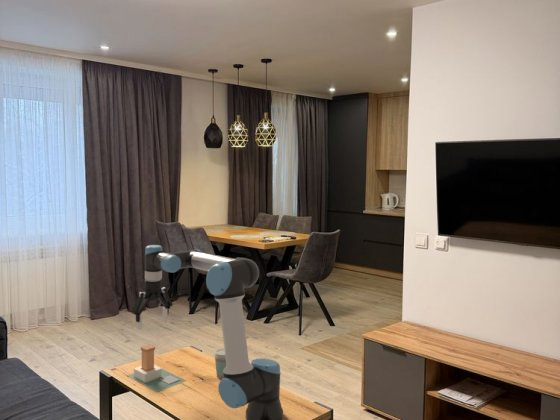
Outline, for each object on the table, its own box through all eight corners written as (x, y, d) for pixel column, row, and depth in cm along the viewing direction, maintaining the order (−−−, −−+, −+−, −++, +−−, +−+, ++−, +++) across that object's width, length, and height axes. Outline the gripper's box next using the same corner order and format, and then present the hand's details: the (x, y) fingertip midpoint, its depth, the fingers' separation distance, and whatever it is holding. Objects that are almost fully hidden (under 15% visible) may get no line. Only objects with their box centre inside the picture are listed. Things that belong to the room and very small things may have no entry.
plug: (154, 376, 227) (155, 347, 226) (146, 379, 224) (146, 349, 222) (149, 373, 230) (149, 344, 229) (140, 376, 227) (140, 347, 225)
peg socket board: (186, 383, 224) (186, 372, 224) (157, 395, 212) (157, 383, 212) (155, 368, 240) (155, 357, 239) (126, 378, 228) (126, 367, 227)
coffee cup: (228, 381, 228) (229, 356, 227) (211, 379, 230) (211, 354, 229) (234, 373, 236) (234, 349, 235) (217, 371, 238) (217, 347, 237)
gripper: (171, 273, 232) (170, 317, 234) (123, 282, 213) (123, 329, 215) (180, 276, 227) (179, 321, 229) (133, 285, 208) (132, 333, 210)
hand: (152, 325), depth 222 cm, fingers open, 13 cm apart
